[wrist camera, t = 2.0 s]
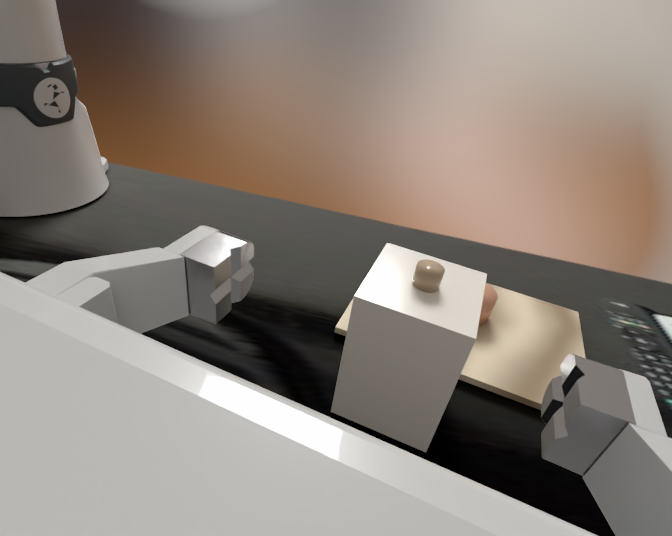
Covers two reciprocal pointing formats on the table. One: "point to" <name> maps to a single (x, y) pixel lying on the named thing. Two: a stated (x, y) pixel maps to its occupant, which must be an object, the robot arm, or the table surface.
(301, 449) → the robot arm
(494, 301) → the egg
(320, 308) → the table surface
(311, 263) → the table surface
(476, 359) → the mat
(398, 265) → the tall white canister
